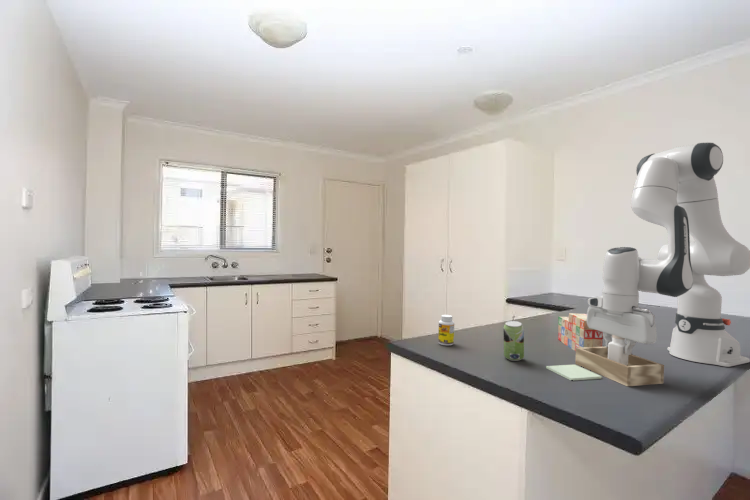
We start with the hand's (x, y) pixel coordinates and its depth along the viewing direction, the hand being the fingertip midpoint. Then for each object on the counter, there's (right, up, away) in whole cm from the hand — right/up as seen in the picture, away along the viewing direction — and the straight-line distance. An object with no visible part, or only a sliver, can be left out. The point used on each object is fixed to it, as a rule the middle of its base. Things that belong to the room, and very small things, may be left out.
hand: (618, 351), depth 107 cm
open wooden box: (0, -6, 0) cm, 6 cm away
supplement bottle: (-45, -5, +27) cm, 52 cm away
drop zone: (-14, -6, -1) cm, 15 cm away
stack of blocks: (+3, -6, +26) cm, 27 cm away
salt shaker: (0, -4, 0) cm, 4 cm away
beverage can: (-27, -6, +10) cm, 29 cm away
